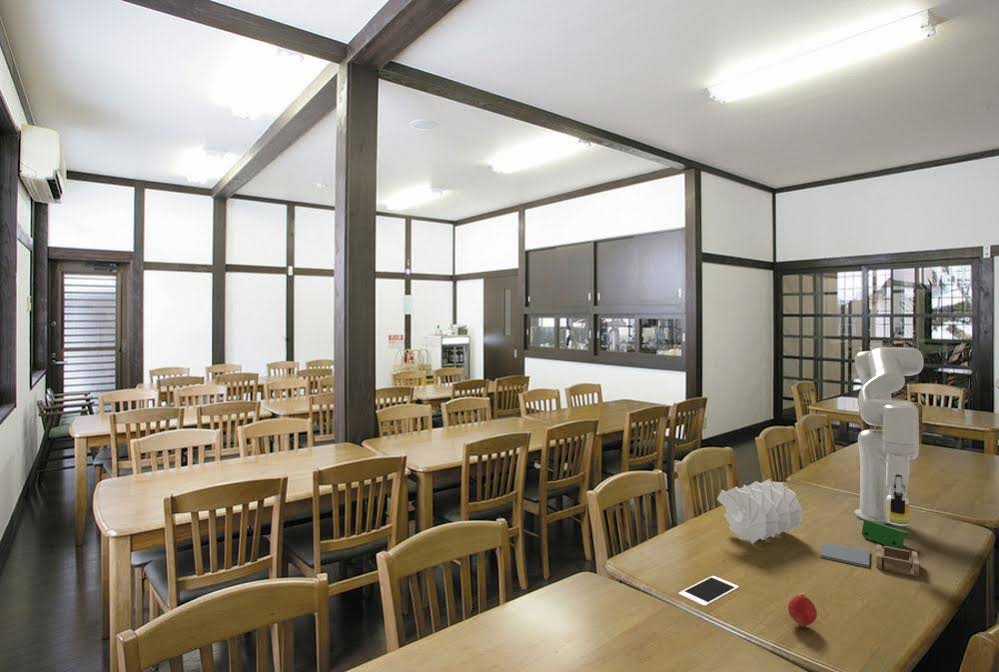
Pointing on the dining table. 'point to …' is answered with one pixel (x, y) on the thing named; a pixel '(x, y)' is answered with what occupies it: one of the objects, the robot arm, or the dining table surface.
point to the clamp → (884, 534)
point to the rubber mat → (845, 554)
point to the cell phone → (708, 590)
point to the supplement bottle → (895, 517)
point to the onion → (802, 610)
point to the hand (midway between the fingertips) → (897, 509)
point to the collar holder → (897, 560)
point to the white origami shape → (761, 510)
